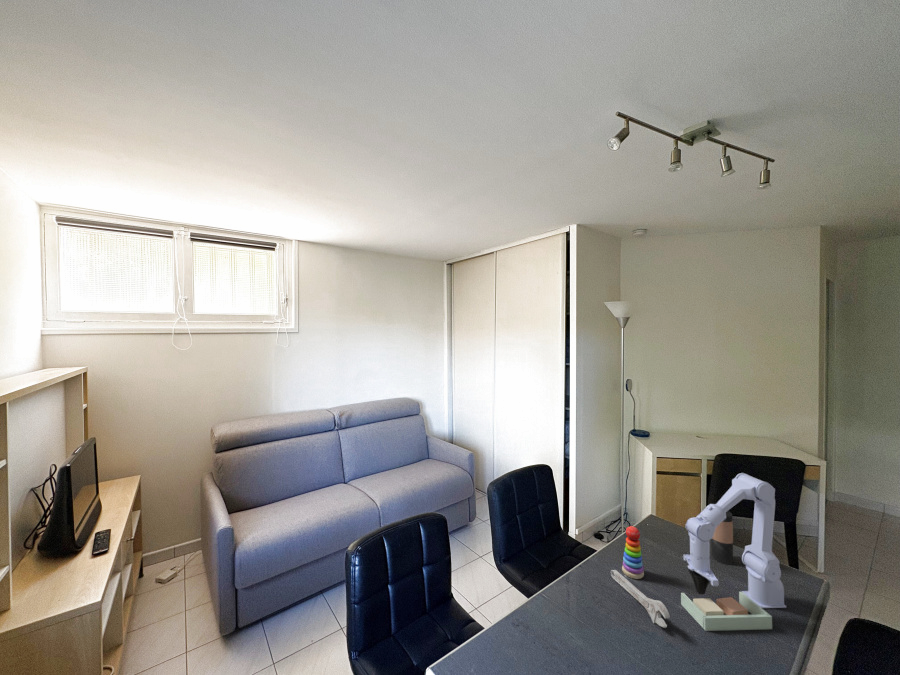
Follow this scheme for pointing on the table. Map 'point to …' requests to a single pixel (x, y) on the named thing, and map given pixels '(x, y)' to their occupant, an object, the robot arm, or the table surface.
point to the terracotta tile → (731, 606)
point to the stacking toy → (633, 554)
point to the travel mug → (723, 541)
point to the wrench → (643, 600)
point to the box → (730, 616)
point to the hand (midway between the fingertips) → (700, 592)
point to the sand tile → (708, 607)
